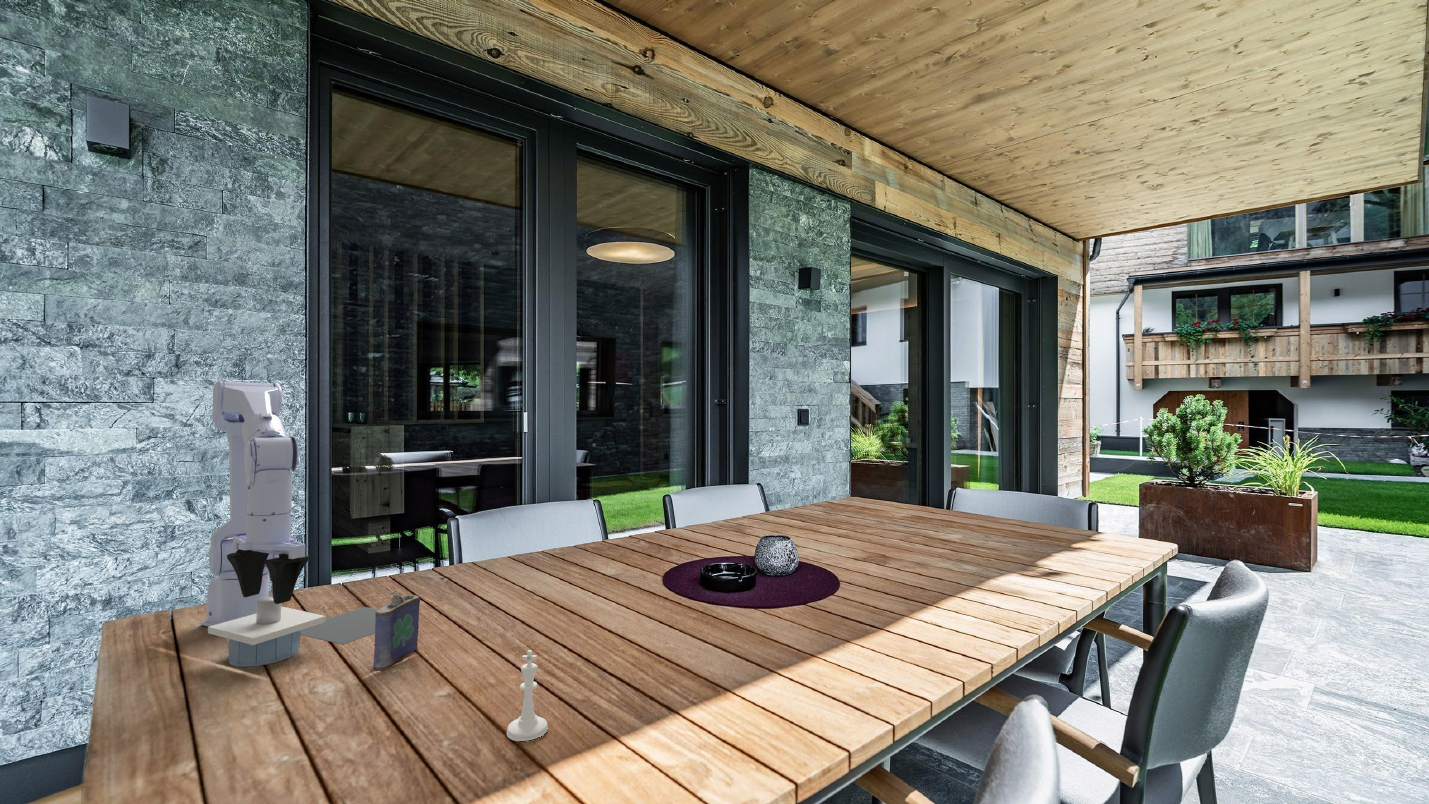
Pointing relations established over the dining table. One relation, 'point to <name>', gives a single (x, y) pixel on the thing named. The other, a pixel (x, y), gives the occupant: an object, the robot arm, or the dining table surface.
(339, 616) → the mat
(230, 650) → the bowl
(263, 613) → the lid
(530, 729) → the chess piece
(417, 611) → the flask
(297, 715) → the dining table surface
